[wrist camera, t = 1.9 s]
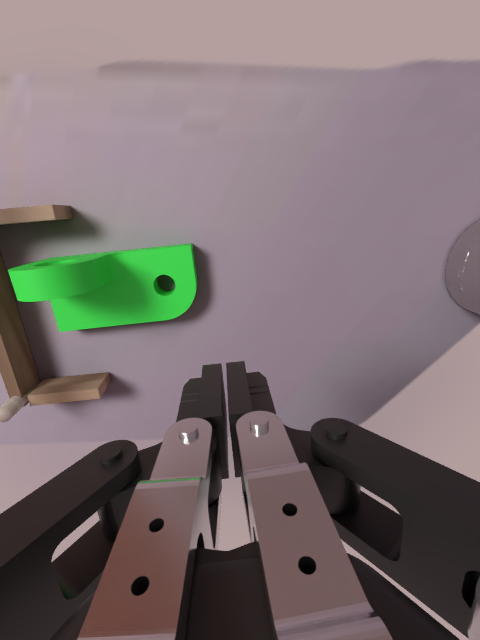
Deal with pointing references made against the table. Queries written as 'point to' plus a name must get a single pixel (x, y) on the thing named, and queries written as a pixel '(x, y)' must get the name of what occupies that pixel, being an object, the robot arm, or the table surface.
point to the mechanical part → (110, 286)
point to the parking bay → (12, 345)
